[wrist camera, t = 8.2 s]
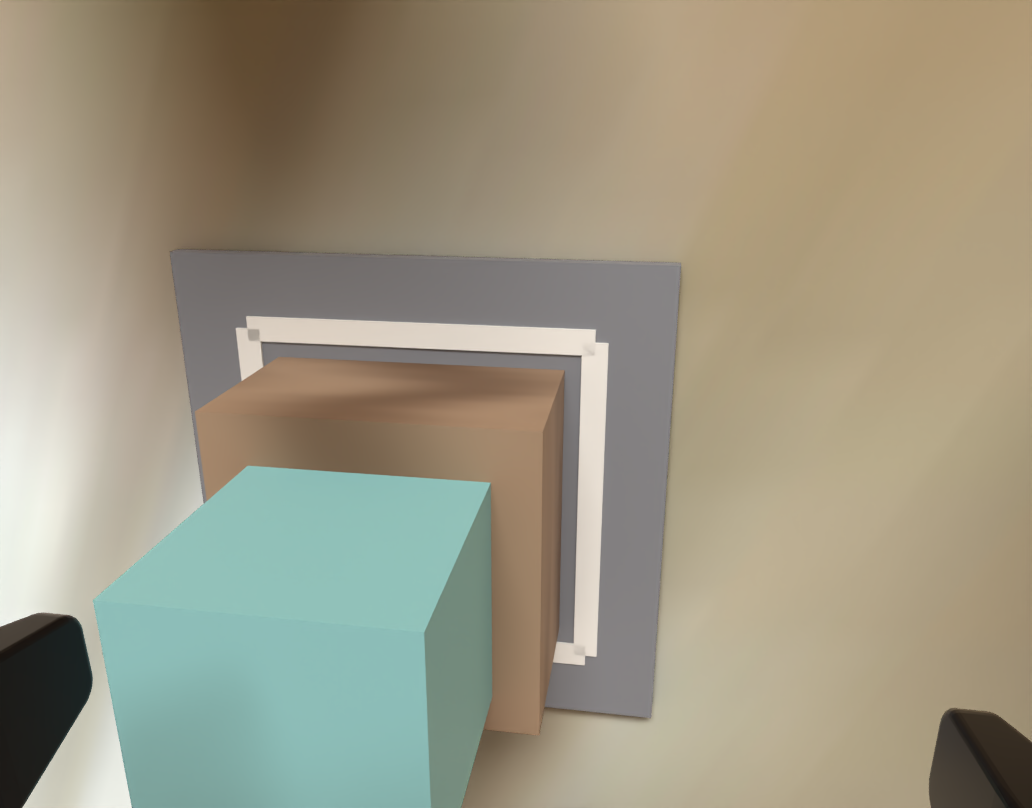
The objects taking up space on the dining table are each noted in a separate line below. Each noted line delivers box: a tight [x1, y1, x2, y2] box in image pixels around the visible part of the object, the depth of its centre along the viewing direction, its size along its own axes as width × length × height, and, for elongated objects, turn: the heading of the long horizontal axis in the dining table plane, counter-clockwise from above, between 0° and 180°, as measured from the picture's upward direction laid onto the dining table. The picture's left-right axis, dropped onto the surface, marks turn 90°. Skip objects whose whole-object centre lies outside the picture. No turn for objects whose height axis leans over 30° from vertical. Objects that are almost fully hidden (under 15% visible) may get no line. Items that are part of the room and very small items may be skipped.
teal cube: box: [93, 466, 492, 808], centre depth 15 cm, size 5×5×5 cm
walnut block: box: [195, 357, 565, 735], centre depth 19 cm, size 7×7×4 cm
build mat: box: [170, 249, 681, 718], centre depth 21 cm, size 12×12×1 cm
